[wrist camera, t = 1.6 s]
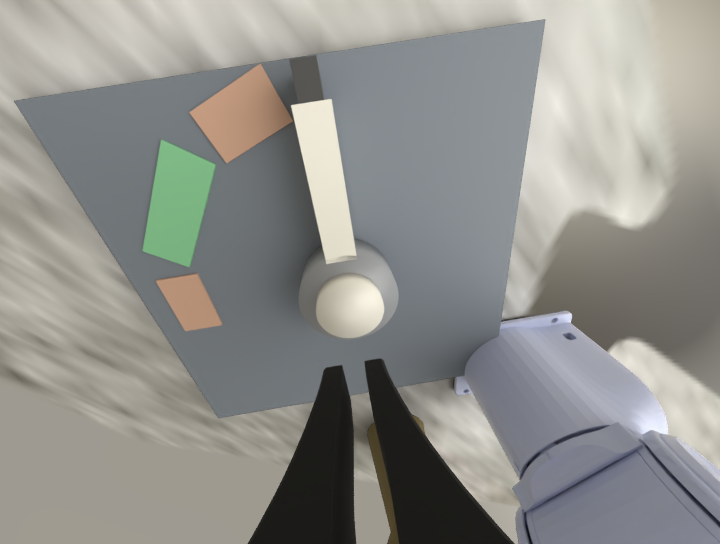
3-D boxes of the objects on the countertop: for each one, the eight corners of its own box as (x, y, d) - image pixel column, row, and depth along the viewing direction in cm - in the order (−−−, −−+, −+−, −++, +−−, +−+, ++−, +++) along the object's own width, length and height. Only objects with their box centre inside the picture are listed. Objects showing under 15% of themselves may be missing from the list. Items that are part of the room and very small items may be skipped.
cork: (361, 447, 29) (375, 608, 19) (375, 411, 26) (401, 577, 16) (413, 449, 30) (452, 602, 20) (432, 415, 27) (487, 572, 17)
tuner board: (528, 28, 13) (547, 17, 12) (486, 360, 24) (494, 371, 23) (40, 103, 13) (10, 100, 11) (223, 405, 24) (217, 420, 22)
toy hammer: (393, 307, 18) (405, 342, 15) (313, 320, 18) (309, 358, 15) (369, 61, 12) (382, 36, 9) (246, 80, 12) (215, 62, 9)
